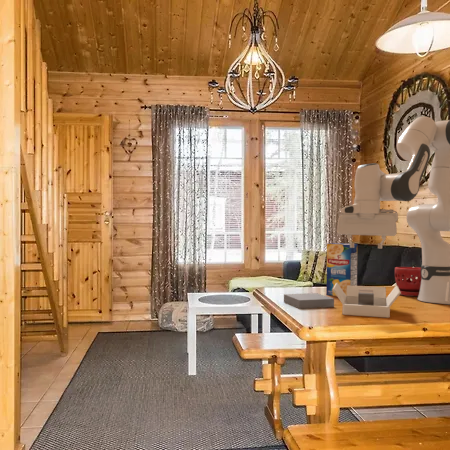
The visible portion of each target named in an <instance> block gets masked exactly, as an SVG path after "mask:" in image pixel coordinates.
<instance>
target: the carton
mask: <svg viewBox="0 0 450 450" xmlns="http://www.w3.org/2000/svg"><path fill="white" fill-rule="evenodd" d="M359 289H373V291H374V306H372V305H358V293H359ZM333 291H334V292H335V294H336V295H337V296H336V297H337V298H338V300H339V301H340V303H341V304H342V315H344V316H345V315H346V316H358V317H361V316H362V317H373V318H374V317H375V318H390V317H391V315H390V314H391V313H390V312H391V306H392V305H393V304H394V303H395V302H396V300H397V299H398V297H399V296H400V294H401V292H400V290H399V288H398V286H397V284H396V285H395V286H394V287H393V289H392V290H391V291H390V293H389V294H388V295H387V287H386V286H385V287H384V286H370V285H369V286H367V285H366V286H365V285H357V286H349V285H347V296H346V295H345V293H344V292H343V290H342V289H341V287H340V286H339V284H338V283H336V284H335V286H334V288H333Z"/></svg>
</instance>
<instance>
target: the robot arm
mask: <svg viewBox="0 0 450 450" xmlns="http://www.w3.org/2000/svg"><path fill="white" fill-rule="evenodd" d="M431 151H434V156H433V157H432V158H433V159H432V163H431V166H430V171H429V178H428V184H427V188H428V190H429V192H430V193H431V194H433V195H434V196H436V197H437V203H422V204H418V205H414V206H411V207H410V208H409V209H408V210H407V213H406V223H407V225H408V226H409V227H410V228H411V229H412V230H413V231H414V232H415V234H416V235H417V237H418V239H419V241H420V245H421V261H422V262H421V266H420V268H421V277H422V278H421V286H420V291H419V295H418V296H417V299H416V300H418V301H421V302H424V303H432V304H443V305H450V243H449V242H447V241H446V240H444V239H443V237H442V235H441V232H450V119H448V120H438V121H435V120H434V118H431V117H430V116H429V117H428V116H418V117H417V118H415V119H414V120H413V121H412V122H411V123H410V124H409V125H408V126H407V127H406V128H405V129H404V131H403V132H402V134H401V135H400V136H399V138H398V140H397V142H396V152H397V153H398V155H399V156H400V157H401V158H402V159H403V160H404V161H407V162H409V164H408V166H407V169H406V170H404V171H401V172H397V173H385V172H384V171H383V170H381V168H380V165H379V163H376V162H373V163H365V164H361V165H358V166H357V168H356V170H355V176H354V191H355V194H354V196H355V197H354V199H353V204H349V205H346V206H344V207H342V208H341V209H340V212H341V214H340V215H339V217H338V220H337V226H336V232H337V234H338V235H343V236H344V235H346V238H347V240H348V243H349V244H350V248H354V244H355V242H352V240H351V239H352V236H379V237H380V236H381V239H382V240H381V241H380V243H377V250H378V249H383V244H384V243H385V241H386V240H387V239H386V238H387V237H394V236H396V235H397V232H398V231H397V230H398V228H397V222H398V219H399V213H398V212H397V211H396V210H394V209H391V208H389V209H387V208H386V209H384V208H381V202H392V201H393V202H394V201H396V202H411V201H412V200H414V199H415V197H416V196H417V195H418V193H419V191H420V187H421V181H422V179H423V176H424V174H425V172H426V168H427V166H428V163H429V161H430V159H431Z"/></svg>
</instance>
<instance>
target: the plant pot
mask: <svg viewBox="0 0 450 450" xmlns="http://www.w3.org/2000/svg"><path fill="white" fill-rule="evenodd" d="M421 278H422V277H421V267H417V266H416V267H413V266H396V267H394V281H395V284H396V285H397V286H398V288H399V290H400V292H401V294H400V295H401V296H407V297H417V298H418V295H419V291H420V286H421ZM400 295H399V296H400Z"/></svg>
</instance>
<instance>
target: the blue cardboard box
mask: <svg viewBox="0 0 450 450" xmlns="http://www.w3.org/2000/svg"><path fill="white" fill-rule="evenodd" d="M336 283H338V284H339V286H340V287H341V289H342V290H343V292H344V293H345V295H346V296H347V285H349V286H358V243H354V248H350V243H342V242H341V243H338V242H337V243H336V242H332V243H330V242H329V243H326V291H325V292H326V295H325V296H334V297H337V295H336V294H335V292H334V291H333V288H334V286H335V284H336Z"/></svg>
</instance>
